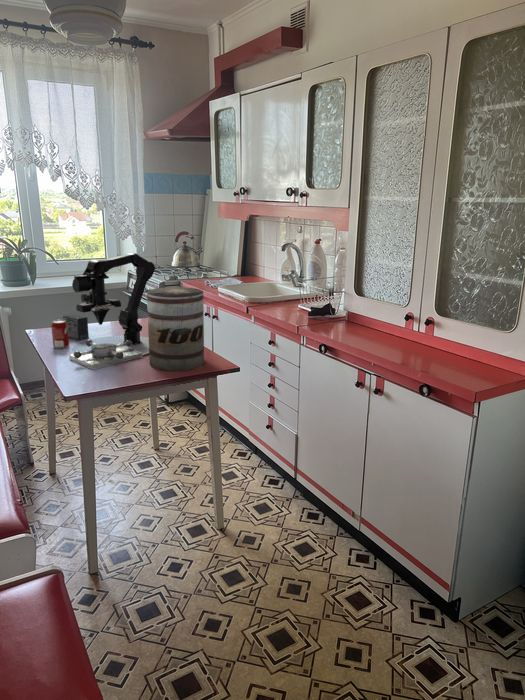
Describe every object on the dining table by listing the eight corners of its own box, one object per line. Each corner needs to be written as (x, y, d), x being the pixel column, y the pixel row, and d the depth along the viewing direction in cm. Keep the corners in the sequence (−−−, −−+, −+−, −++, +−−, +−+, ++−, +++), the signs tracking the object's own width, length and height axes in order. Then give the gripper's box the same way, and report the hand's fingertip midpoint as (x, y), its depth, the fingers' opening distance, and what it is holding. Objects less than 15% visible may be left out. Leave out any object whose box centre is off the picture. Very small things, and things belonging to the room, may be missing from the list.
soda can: (64, 349, 234) (61, 323, 231) (50, 348, 236) (47, 322, 232) (72, 345, 241) (70, 319, 237) (58, 344, 242) (56, 318, 238)
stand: (119, 348, 238) (119, 343, 238) (142, 357, 227) (142, 351, 226) (69, 359, 222) (69, 353, 221) (92, 369, 210) (91, 363, 209)
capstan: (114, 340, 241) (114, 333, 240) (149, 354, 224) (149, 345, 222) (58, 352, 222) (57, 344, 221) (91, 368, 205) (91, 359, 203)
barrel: (181, 375, 206) (180, 299, 197) (138, 365, 216) (134, 293, 208) (214, 360, 225) (214, 290, 216) (172, 351, 235) (171, 285, 226)
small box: (89, 337, 254) (88, 316, 251) (78, 340, 248) (77, 319, 245) (75, 334, 259) (73, 313, 256) (64, 337, 254) (62, 315, 251)
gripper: (107, 284, 239) (109, 318, 244) (68, 289, 226) (71, 324, 231) (120, 287, 232) (122, 322, 237) (81, 293, 219) (84, 329, 224)
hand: (100, 324), depth 232 cm, fingers closed
